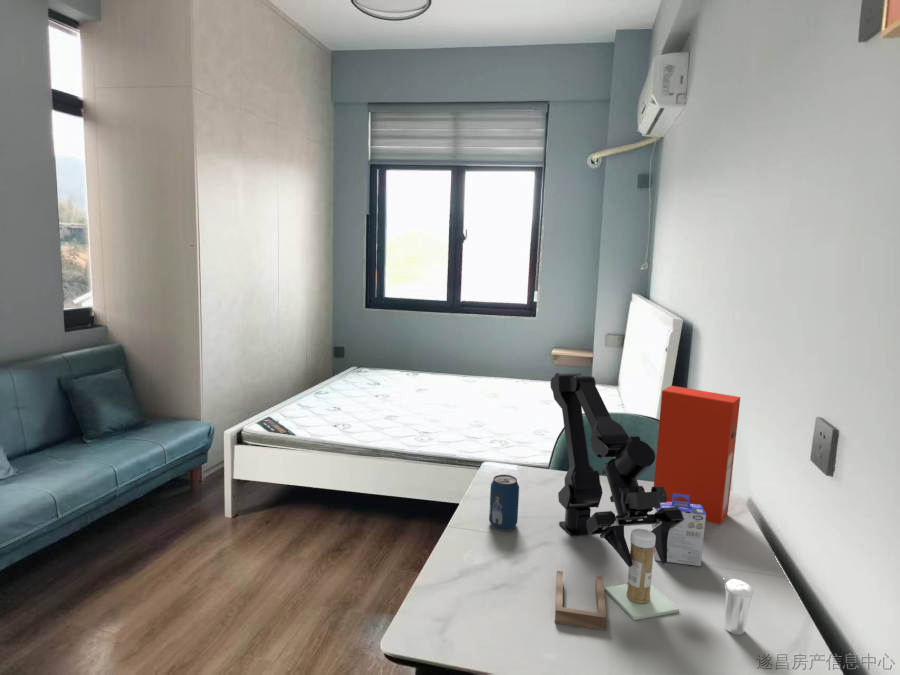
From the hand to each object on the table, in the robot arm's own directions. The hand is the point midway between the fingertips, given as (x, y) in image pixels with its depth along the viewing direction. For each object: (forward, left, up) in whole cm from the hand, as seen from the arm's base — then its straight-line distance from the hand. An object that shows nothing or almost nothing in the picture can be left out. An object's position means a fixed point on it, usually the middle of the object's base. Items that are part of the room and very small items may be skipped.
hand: (647, 564), depth 113 cm
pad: (-1, 0, -8) cm, 8 cm away
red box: (-33, +38, -9) cm, 51 cm away
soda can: (-37, -14, -9) cm, 41 cm away
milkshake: (+11, +11, -9) cm, 18 cm away
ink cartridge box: (-13, +18, -9) cm, 24 cm away
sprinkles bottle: (-2, 0, -8) cm, 8 cm away
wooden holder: (-3, -12, -8) cm, 15 cm away
